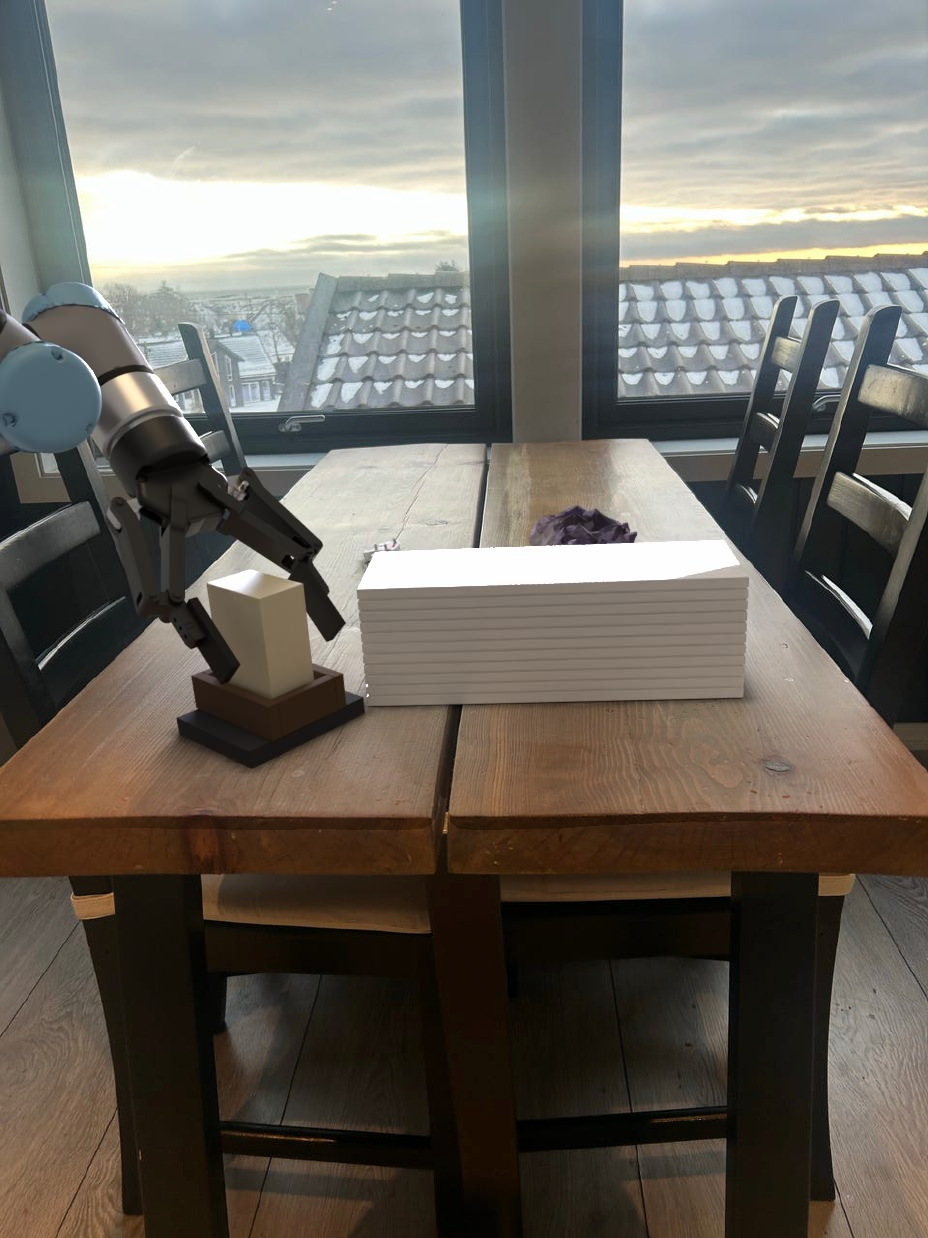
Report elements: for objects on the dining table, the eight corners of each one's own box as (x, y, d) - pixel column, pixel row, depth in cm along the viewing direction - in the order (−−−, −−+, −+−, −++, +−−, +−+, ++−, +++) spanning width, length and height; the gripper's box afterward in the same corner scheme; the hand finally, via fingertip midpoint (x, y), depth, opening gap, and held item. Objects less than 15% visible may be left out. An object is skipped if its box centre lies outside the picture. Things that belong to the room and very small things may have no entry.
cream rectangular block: (275, 727, 80) (258, 598, 76) (224, 706, 85) (205, 583, 81) (317, 708, 83) (303, 583, 79) (265, 688, 88) (250, 568, 84)
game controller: (362, 556, 130) (360, 536, 129) (449, 547, 131) (448, 528, 131) (366, 568, 124) (364, 548, 123) (457, 559, 126) (456, 539, 125)
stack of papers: (367, 706, 87) (356, 589, 83) (384, 658, 97) (374, 552, 93) (743, 698, 84) (749, 576, 80) (720, 649, 94) (724, 539, 90)
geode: (678, 618, 103) (669, 527, 99) (570, 644, 102) (556, 553, 98) (618, 556, 121) (608, 477, 117) (526, 577, 120) (513, 498, 116)
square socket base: (253, 769, 77) (245, 716, 76) (177, 733, 84) (169, 684, 82) (366, 713, 85) (362, 665, 84) (289, 684, 92) (284, 639, 90)
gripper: (241, 446, 95) (369, 634, 91) (9, 495, 80) (149, 725, 75) (269, 392, 90) (406, 589, 85) (26, 434, 74) (178, 677, 70)
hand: (285, 653), depth 80 cm, fingers open, 10 cm apart
